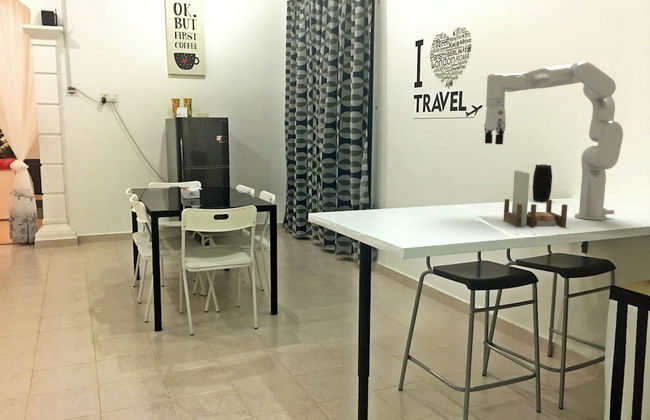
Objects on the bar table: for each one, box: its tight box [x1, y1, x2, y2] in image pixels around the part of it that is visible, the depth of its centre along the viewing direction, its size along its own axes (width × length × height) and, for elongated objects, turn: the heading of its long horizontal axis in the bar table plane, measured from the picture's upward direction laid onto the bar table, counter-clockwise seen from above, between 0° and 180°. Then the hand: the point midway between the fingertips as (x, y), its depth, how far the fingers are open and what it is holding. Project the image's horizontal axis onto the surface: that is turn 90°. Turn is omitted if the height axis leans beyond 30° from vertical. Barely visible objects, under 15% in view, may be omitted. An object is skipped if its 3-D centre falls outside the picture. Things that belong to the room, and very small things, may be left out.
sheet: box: [511, 170, 531, 227], centre depth 223 cm, size 2×11×22 cm, turn 1°
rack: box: [503, 198, 568, 228], centre depth 224 cm, size 19×16×10 cm
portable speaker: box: [532, 163, 553, 203], centre depth 298 cm, size 9×9×20 cm
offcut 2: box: [535, 221, 557, 227], centre depth 224 cm, size 8×10×2 cm
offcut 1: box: [527, 211, 555, 221], centre depth 224 cm, size 8×10×2 cm
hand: (493, 143), depth 242 cm, fingers open, 9 cm apart
